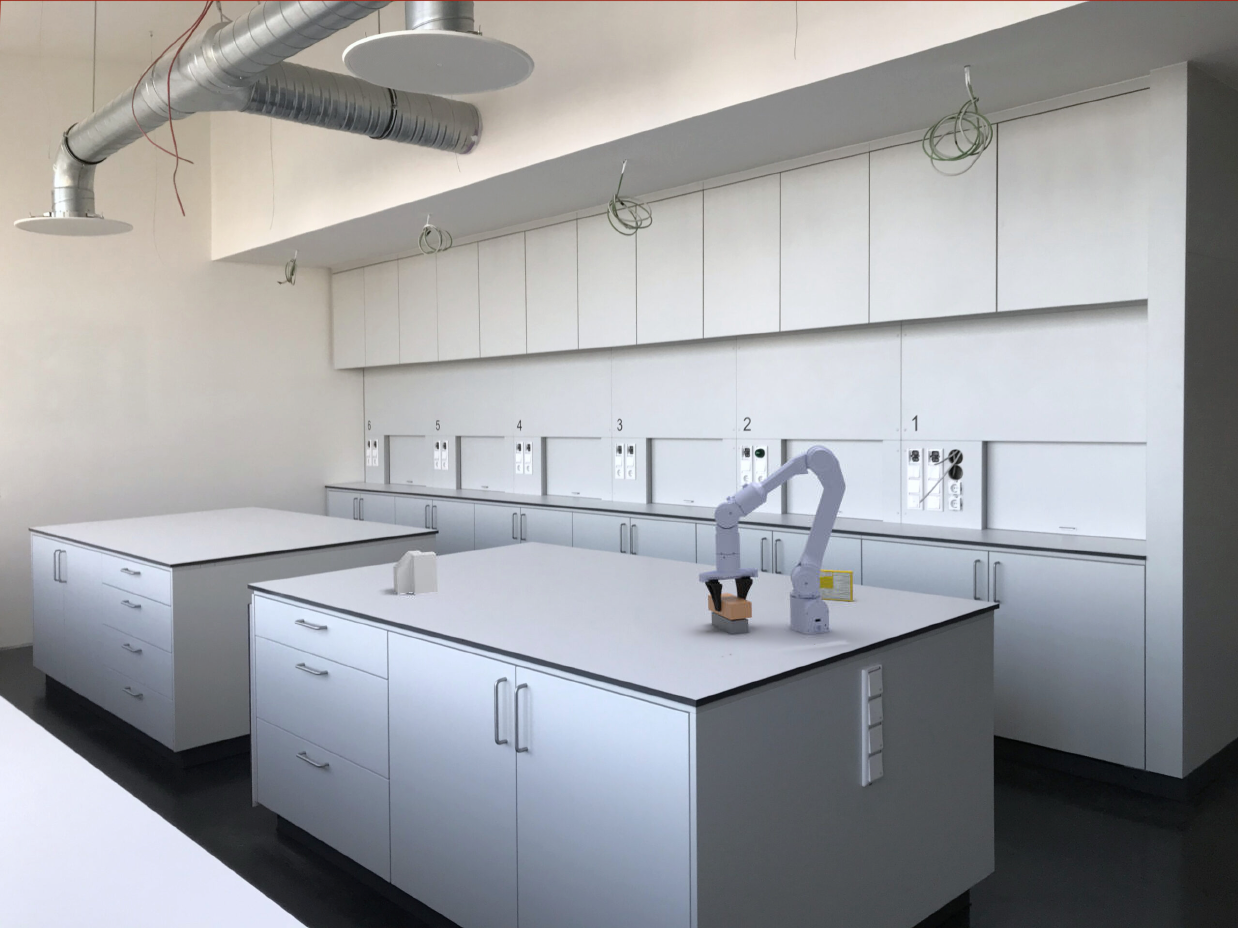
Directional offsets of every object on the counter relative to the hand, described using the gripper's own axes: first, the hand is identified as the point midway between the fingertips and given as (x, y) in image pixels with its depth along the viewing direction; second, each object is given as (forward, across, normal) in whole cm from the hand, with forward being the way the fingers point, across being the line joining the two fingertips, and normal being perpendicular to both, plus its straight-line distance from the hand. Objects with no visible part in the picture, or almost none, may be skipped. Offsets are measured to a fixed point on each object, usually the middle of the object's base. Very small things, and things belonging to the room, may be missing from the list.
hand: (729, 609), depth 228 cm
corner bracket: (+5, +63, -89) cm, 109 cm away
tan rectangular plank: (+1, 0, 0) cm, 1 cm away
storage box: (+6, 0, 0) cm, 6 cm away
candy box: (+6, -40, -24) cm, 47 cm away
